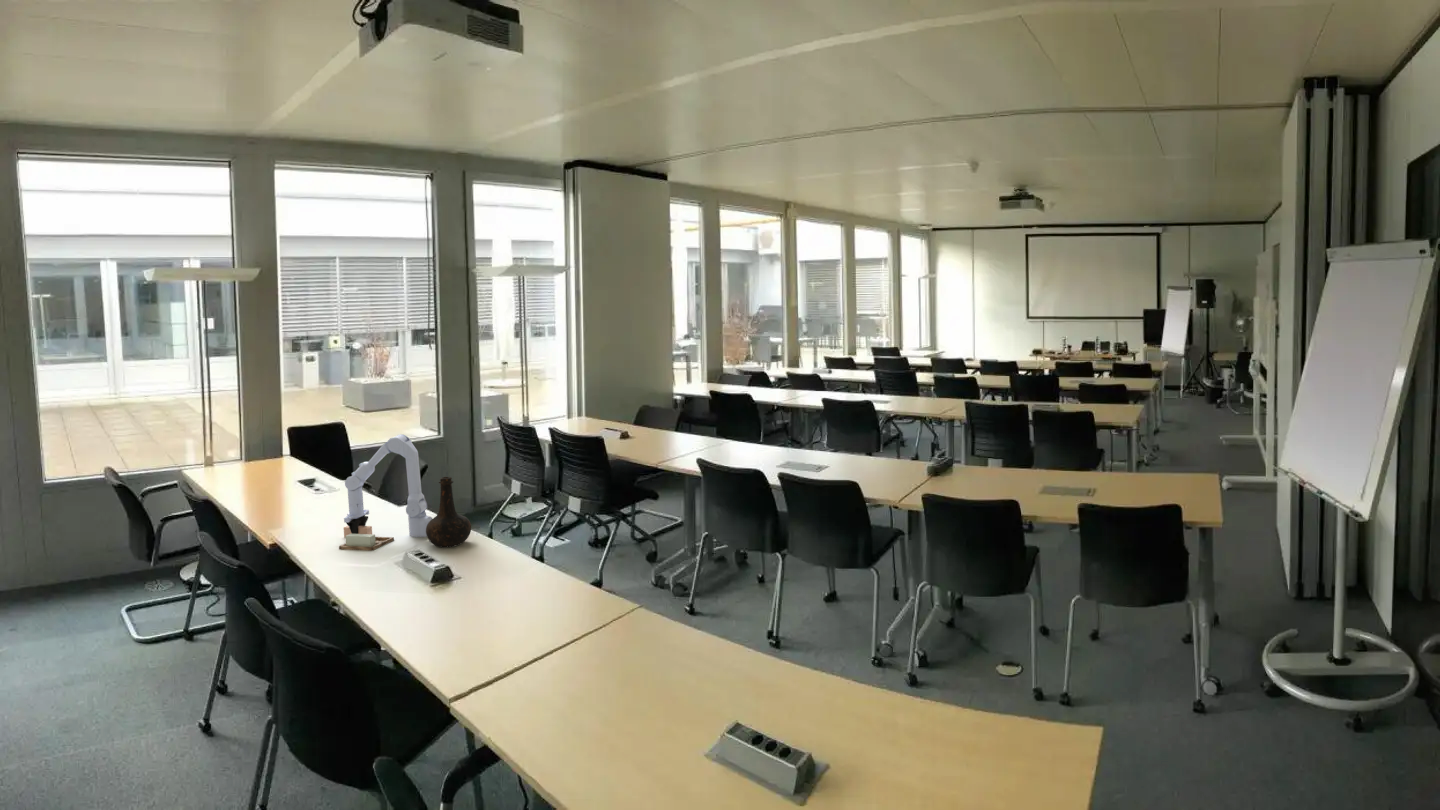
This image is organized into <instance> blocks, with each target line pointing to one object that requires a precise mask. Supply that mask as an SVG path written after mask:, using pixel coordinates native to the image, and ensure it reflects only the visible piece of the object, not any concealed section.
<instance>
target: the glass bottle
mask: <svg viewBox="0 0 1440 810" xmlns="http://www.w3.org/2000/svg"><path fill="white" fill-rule="evenodd" d="M453 483H454V480H453V478H452V476H443V477H440V479H439V482H438V484H440V492H439V493H440V497H439V498H440V499H439V507H438V512H437V514H436V515H435V516H434V517H432V520H430V522H429V523H428V524H427V527H426V535H427V537H426V538H427V539H428V540H429V542H430V543H431V544H432V545H434V546H436V547H439V548H453V547H458V546H460V545H461V544H463V543H465V542H466V541H467V539H468V538H469V537H470V534H471V532H472V523H471V522H470V520H469V518H468V517H466V516H465V515H463V514H459V513H457V511H456V507H455V502H454V494H453V486H452V484H453Z"/></svg>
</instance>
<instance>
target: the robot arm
mask: <svg viewBox="0 0 1440 810" xmlns="http://www.w3.org/2000/svg"><path fill="white" fill-rule="evenodd" d="M391 453H394V454H397V455H399V456H402V457H403V458H404V459H405V467H406V477H407V478H406V480H407V489H408V496H407V499H406V501H407V505H406V507H405V513H406V514H407V517H408V531H409V534H408V535H409V537H411V538H420V537H421V538H428V537H427V535H426V527H427V524H428V523H429V522H430V520H432V519H433V517H432V516H429V515H427V512H426V510H427V509H428V502H427V501H426V498H425V494H423V493H422V484H421V483H422V482H421V481H422V479H421V471H420V470H421V469H420V461H419V460H420V458H419V451H418V449H417V448H416V447H415V445H414V444H413V442H412V440H411V438H410V437H408V436H407V435H405V434H402V433H400V434H397V435H395V436H393V437H390V438H389V439H388V440H387V441H386V442H384V443H383V444H382V445H381V446H380V447H379V449H378V450H377V451H376V452H375V453H374V454H373V456H372V457H371V458H370V459H369V460H368V461H363V462H361V463H359V464H358V466H359V467H357V469H356V470H355V471H353V472H351V476H348V477H347V478H346V479H345V482H344V486H345V488H346V489H347V498H348V499H347V501H348V502H347V503H348V513H347V514H346V517H344V518H343V522H344V523H345V524H346V526H349V528H350V530H351V533H352V534H358V527H359V526H367V525H366V524H367V522H368V520H369V516H367V515H370V510H369V509H365V508H364V495H363V494H364V493H363V486H364V484H365V482H366V481H367V479H369V478H370V476H372V474H373V473H374V472H375V471H376V468H375V467H376V465H378V463H380V462H381V461H382V460H383V458H385V457H386V456H387V454H388V455H389V454H391Z"/></svg>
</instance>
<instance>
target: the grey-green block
mask: <svg viewBox="0 0 1440 810" xmlns="http://www.w3.org/2000/svg"><path fill="white" fill-rule="evenodd" d="M375 537H376V534H374V533H372V534H349V535H346V536H345V537H344V538H345V543H346V546H362V547H373V546H375V545H376V541H375Z"/></svg>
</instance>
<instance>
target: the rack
mask: <svg viewBox="0 0 1440 810" xmlns="http://www.w3.org/2000/svg"><path fill="white" fill-rule="evenodd" d="M375 541H376V545H375V546H373V547H362V546H346V542H345V543H343V544H341V545H339V546H338V549H339V550H351V551H375V550H376V549H379V548H381V547H383V546H385V545H388V544H389V543H391V542H393V541H395V538H394V537H392V536H375Z"/></svg>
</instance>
